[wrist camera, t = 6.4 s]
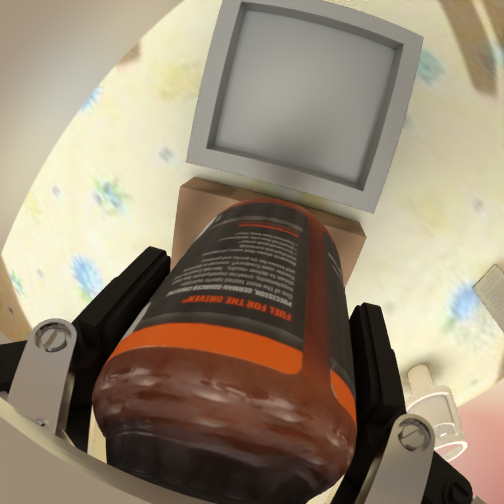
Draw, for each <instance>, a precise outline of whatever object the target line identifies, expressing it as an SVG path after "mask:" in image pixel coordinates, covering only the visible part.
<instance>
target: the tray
mask: <svg viewBox="0 0 504 504" xmlns="http://www.w3.org/2000/svg"><path fill="white" fill-rule="evenodd" d="M422 42H423V37H422V36H420V35H418V34H416V33H414V32H411V31H409V30H407V29H405V28H402V27H400V26H398V25H395V24H393V23H390V22H388V21H385V20H383V19H380V18H377V17H375V16H372V15H369V14H366V13H363V12H360V11H357V10H354V9H351V8H348V7H344V6H341V5H337V4H334V3H330V2H326V1H323V0H223V1H222V5H221V8H220V12H219V15H218V19H217V22H216V26H215V30H214V33H213V37H212V41H211V45H210V49H209V53H208V57H207V61H206V65H205V69H204V74H203V78H202V82H201V87H200V91H199V96H198V101H197V106H196V111H195V116H194V121H193V126H192V131H191V136H190V142H189V148H188V153H187V159H186V163H191V164H195V165H200V166H204V167H209V168H213V169H217V170H222V171H226V172H230V173H234V174H238V175H242V176H246V177H250V178H254V179H258V180H262V181H266V182H270V183H273V184H277V185H281V186H284V187H288V188H291V189H295V190H299V191H302V192H305V193H309V194H312V195H316V196H319V197H322V198H326V199H329V200H332V201H336V202H339V203H342V204H345V205H348V206H351V207H354V208H358V209H361V210H364V211H367V212H370V213H373V214H374V211H375V208H376V206H377V203H378V200H379V197H380V195H381V192H382V189H383V186H384V183H385V180H386V177H387V174H388V171H389V168H390V165H391V162H392V159H393V156H394V153H395V150H396V146H397V143H398V140H399V136H400V133H401V130H402V126H403V123H404V119H405V115H406V112H407V108H408V104H409V100H410V97H411V93H412V88H413V84H414V80H415V76H416V71H417V67H418V62H419V58H420V53H421V48H422Z"/></svg>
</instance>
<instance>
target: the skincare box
mask: <svg viewBox="0 0 504 504" xmlns="http://www.w3.org/2000/svg"><path fill="white" fill-rule="evenodd" d="M473 290H474V291H475V293H476V294H477V296H478V297H479V298H480V300H481V301H482V303H483V304H484V305H485V307H486V308H487V310H488V311H489V312H490V314H491V315H492V317H493V318H494V319H495V321H496V322H497V324H498V325H499V327H500V328H501V330H502V331H503V333H504V273H503V272H502V271H501V270H500V269H499V268H498V266H497V265H493V266H492V268H491V269H490V270H489V271H488V272H487V273H486V274H485V275H484V276H483V277H482V279H481V280H480V281H479V282H478V283H477V284H476V285H475V286H474V287H473Z"/></svg>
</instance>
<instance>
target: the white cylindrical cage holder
mask: <svg viewBox="0 0 504 504" xmlns="http://www.w3.org/2000/svg"><path fill="white" fill-rule="evenodd" d="M408 379H409V383H410V386H411V390H412V396H410V397H409V398H408V399H407V400H406V401H405V405H406V411H407V414H416V415H419V416H421V417H423V418H424V419H426V420H427V421H428V422H429V423H430V425H431V426H432V428H433V430H434V433H435V447H434V451H435V449H438V448H440V447H443V446H446V445H451V444H459V445H458V446H457V447H456V448H454V449H453V450H452V451H450V452H448V453H447V454H445V455H443V456H441V457H442V458H443V459H444V460H446V461H447V462H449V461H451V460H452V459H454V458H456V457H457V456H458V455H460V454H461V453H462V452H463V451H464V450H465V449H466V447H467V442H466V438H465V435H464V431H463V427H462V424H461V421H460V418H459V414H458V411H457V408H456V404H455V401H454V398H453V395H452V392H451V390H450V388H449V387H447V386H443V385H437V386H433V383H432V380H431V377H430V374H429V370H428V367H427V366H426V365H417V366H415V367H413V368H412V369H410V371H409V372H408Z"/></svg>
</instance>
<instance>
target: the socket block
mask: <svg viewBox="0 0 504 504" xmlns="http://www.w3.org/2000/svg"><path fill="white" fill-rule="evenodd" d="M256 198H272V199H278V198H274V197H271V196H267V195H263V194H259V193H256V192H252V191H248V190H244V189H240V188H236V187H232V186H228V185H224V184H220V183H216V182H212V181H208V180H204V179H199V178H195V177H194V178H192V179H191V180H189V181H188V182H186V183H185V184H183V185H182V186H180V191H179V198H178V206H177V213H176V221H175V229H174V238H173V247H172V257H171V267H170V272H171V271H172V269H173V268H174V267H175V265H176V264H177V263H178V261H179V260H180V259H181V258H182V256H183V255H184V254H185V252H186V251H187V250H188V249H189V247H190V246H191V245H192V243H193V242H194V241H195V240H196V238H197V237H198V236H199V235H200V233H201V232H202V231H203V230H204V228H205V227H206V226H207V225H208V224H209V223H210V222H211V221H212V220H213V219H214V218H215V217H216V216H217V215H218V214H219V213H221V212H222V211H224V210H225V209H226V208H228V207H230V206H232V205H234V204H236V203H239V202H242V201H245V200H249V199H256ZM279 200H282V199H279ZM283 201H285V200H283ZM287 202H289V201H287ZM291 203H292V202H291ZM293 204H296V203H293ZM296 205H299V204H296ZM299 206H300V207H302V208H304V209H305V210H307V211H308V212H310V213H311V214H312V215H314V216H315V217H316V218H317V219H318V220H319V221H320V222H321V223H322V224H323V225H324V226H325V227H326V229H327V230H328V232H329V233H330V235H331V236H332V238H333V240H334V242H335V244H336V248H337V251H338V254H339V258H340V262H341V268H342V273H343V281H344V288H345V286H346V284H347V282H348V280H349V277H350V275H351V273H352V271H353V268H354V266H355V264H356V261H357V259H358V257H359V254H360V252H361V249H362V247H363V244H364V242H365V240H366V236H365V234H364V231H363V229H362V227H361V225H360V223H359V222H356V221H353V220H349V219H346V218H343V217H340V216H337V215H333V214H330V213H327V212H323V211H320V210H317V209H313V208H310V207H306V206H303V205H299Z"/></svg>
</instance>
